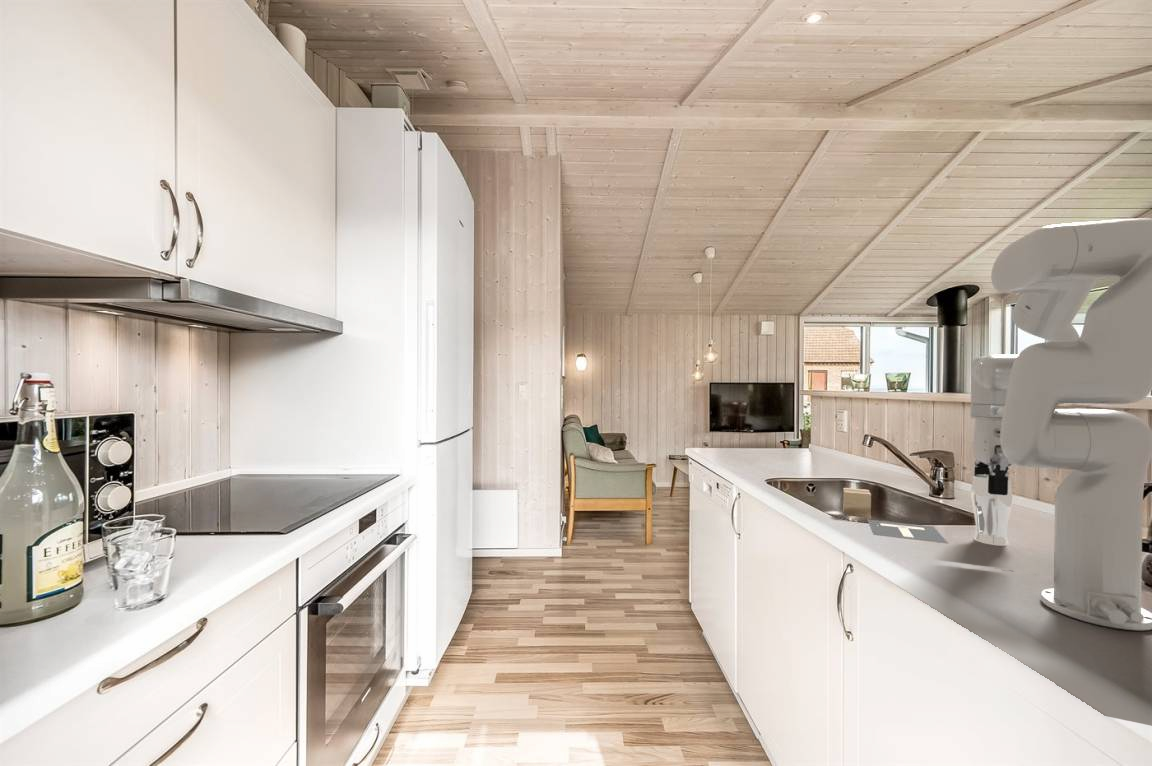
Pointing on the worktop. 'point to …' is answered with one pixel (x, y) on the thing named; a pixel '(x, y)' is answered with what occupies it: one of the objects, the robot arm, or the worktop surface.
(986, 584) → the worktop surface
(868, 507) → the oak block
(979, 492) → the beer glass
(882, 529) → the letter mat
